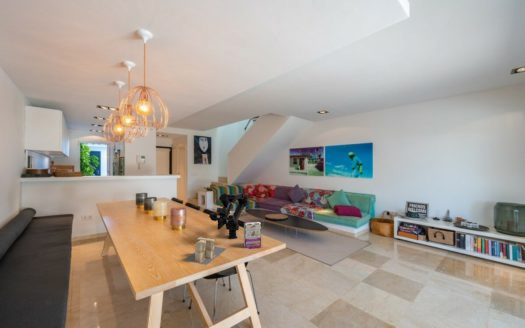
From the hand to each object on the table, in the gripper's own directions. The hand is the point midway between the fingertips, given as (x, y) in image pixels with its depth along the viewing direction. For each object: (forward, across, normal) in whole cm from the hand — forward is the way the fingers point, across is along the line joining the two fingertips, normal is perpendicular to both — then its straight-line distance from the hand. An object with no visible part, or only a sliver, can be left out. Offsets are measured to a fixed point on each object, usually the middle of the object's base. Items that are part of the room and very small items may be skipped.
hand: (218, 229), depth 142 cm
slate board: (+17, -1, 0) cm, 17 cm away
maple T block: (+21, 0, -5) cm, 21 cm away
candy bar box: (+2, +21, +15) cm, 26 cm away
